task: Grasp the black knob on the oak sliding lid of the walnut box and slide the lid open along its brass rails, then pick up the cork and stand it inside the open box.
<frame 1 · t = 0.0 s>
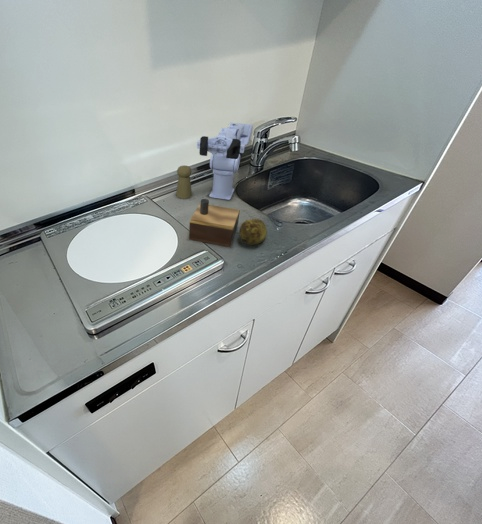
hand: (214, 152, 80), 22 cm above the worktop, tool horizontal, fingers open, 7 cm apart
cork: (184, 195, 107), on the worktop
box: (213, 233, 87), on the worktop
potato: (252, 241, 83), on the worktop
sliding lid: (216, 209, 81), point 8 cm above the worktop, slide at 0.0 cm
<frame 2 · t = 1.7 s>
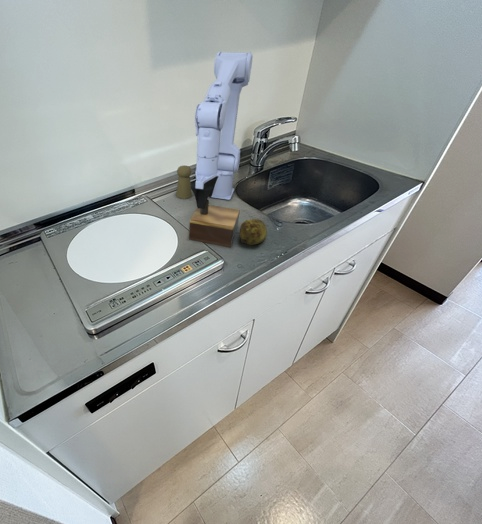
hand: (204, 201, 81), 10 cm above the worktop, tool pointing down, fingers open, 7 cm apart
nothing on the worktop moved.
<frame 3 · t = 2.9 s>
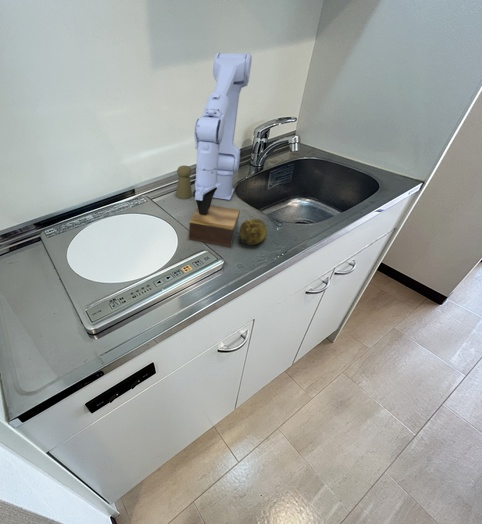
hand: (204, 211, 83), 7 cm above the worktop, tool pointing down, fingers closed on sliding lid, 2 cm apart
sliding lid: (216, 209, 81), point 8 cm above the worktop, slide at 0.0 cm, touching gripper
everything else where it was.
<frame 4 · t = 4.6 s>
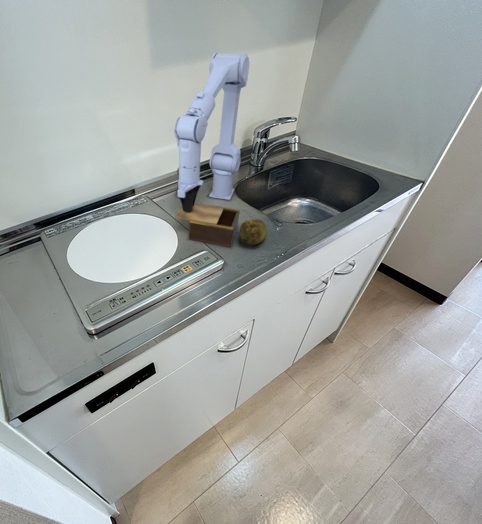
hand: (188, 209, 85), 7 cm above the worktop, tool pointing down, fingers closed on sliding lid, 2 cm apart
sliding lid: (199, 207, 83), point 8 cm above the worktop, slide at 4.9 cm, touching gripper
everything else where it was.
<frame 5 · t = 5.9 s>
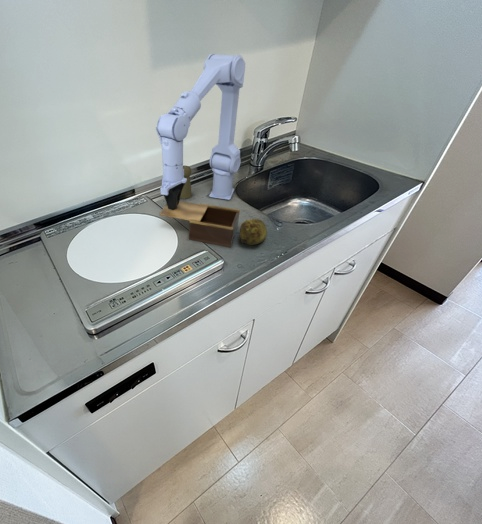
hand: (173, 206, 86), 7 cm above the worktop, tool pointing down, fingers closed on sliding lid, 2 cm apart
sliding lid: (184, 204, 84), point 8 cm above the worktop, slide at 9.7 cm, touching gripper
everything else where it was.
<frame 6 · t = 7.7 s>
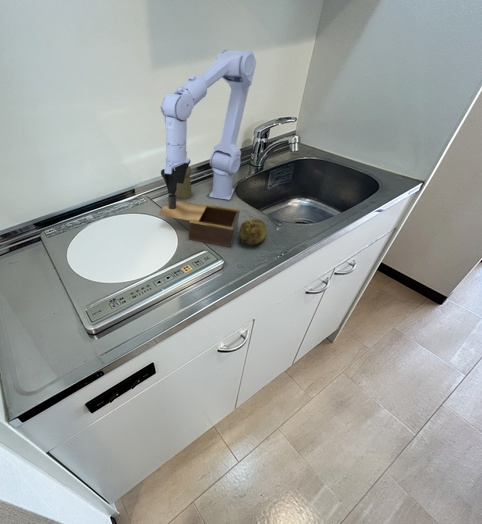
hand: (176, 187, 88), 11 cm above the worktop, tool pointing down, fingers open, 7 cm apart
sliding lid: (183, 204, 84), point 8 cm above the worktop, slide at 10.1 cm, touching gripper
everything else where it was.
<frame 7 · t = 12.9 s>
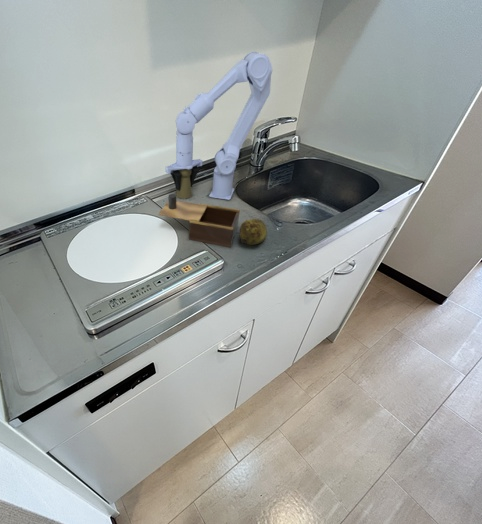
hand: (184, 187, 105), 3 cm above the worktop, tool pointing down, fingers closed on cork, 5 cm apart
cork: (183, 195, 107), on the worktop, touching gripper
sliding lid: (183, 204, 84), point 8 cm above the worktop, slide at 10.0 cm
everything else where it was.
when the fingers open (4 cm above the worktop, at t = 19.2 s): cork stays where it is, resting on box.
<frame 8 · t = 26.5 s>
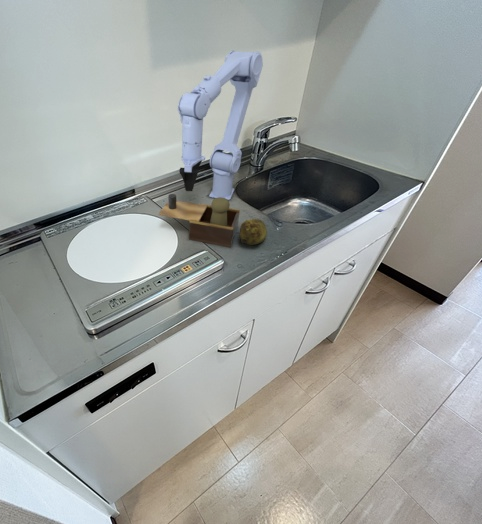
hand: (190, 185, 89), 10 cm above the worktop, tool pointing down, fingers open, 7 cm apart
cork: (217, 232, 86), point 1 cm above the worktop, touching box
everything else where it was.
at the end: sliding lid slide at 10.0 cm; cork inside the target area on the box (0.1 cm from its centre), point 0.6 cm above the box's base; cork tilted 0° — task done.
